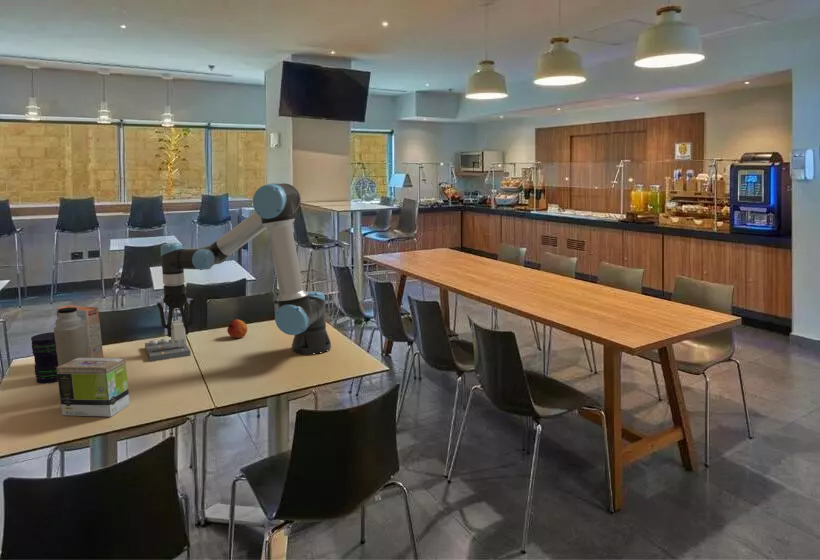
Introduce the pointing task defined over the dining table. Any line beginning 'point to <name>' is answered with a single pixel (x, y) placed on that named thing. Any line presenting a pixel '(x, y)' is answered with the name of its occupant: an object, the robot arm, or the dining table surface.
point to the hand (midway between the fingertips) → (178, 343)
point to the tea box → (93, 386)
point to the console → (166, 349)
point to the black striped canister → (45, 357)
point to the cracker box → (90, 329)
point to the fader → (178, 331)
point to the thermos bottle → (69, 336)
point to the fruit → (237, 329)
